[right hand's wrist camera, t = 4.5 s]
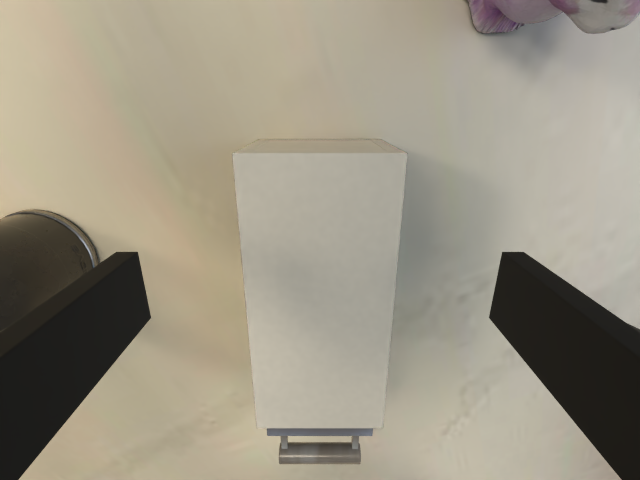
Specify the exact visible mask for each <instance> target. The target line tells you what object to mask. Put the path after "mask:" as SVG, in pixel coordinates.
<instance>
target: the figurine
mask: <svg viewBox="0 0 640 480" xmlns="http://www.w3.org/2000/svg"><path fill="white" fill-rule="evenodd" d="M467 1H468V2H469V7H470V10H471V15H472V20H473V24H474V26H475V28H476V30H477V31H479V32H482V33H491V32H493V33H494V32H496V33H498V32H500V33H501V32H509V31H513V30H514V29H518V28H519V27H520V26H523V25H524V24H528V23H538V22H543V21H546V20H549V19H551V18H553V17H555V16H557V15H559V14H560V13H562V12H564V13H565V14H566V15H567V16H568V17H569V18H570V19H571V20H572V21H573V22H574V23H575V25H576V26H577V27H578V28H579V29H581V30H582V31H583V32H585V33H591V34H596V33H605V32H608V31H611V30H615V29H620V28H622V27H625V26H627V25H628V24H630V23H631V22H632V21H633V20H634V19H635V18H636V17H637V16H638V15H639V13H640V0H467Z"/></svg>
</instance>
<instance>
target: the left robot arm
mask: <svg viewBox="0 0 640 480" xmlns="http://www.w3.org/2000/svg"><path fill="white" fill-rule="evenodd" d="M98 264H99V262H98V258H97V254H96V252H95V249H94V247H93V245H92V244H91V242H90V240H89V239H88V238H87V236H86V235H85V234H84V233H83V232H82V231H81V230H80V229H79V228H78V227H77V226H75V225H74V224H73V223H71V222H70V221H68V220H67V219H65V218H63V217H61V216H59V215H56V214H54V213H51V212H47V211H42V210H23V211H19V212H16V213H13V214H10V215H8V216H6V217H4V218H2V219H0V331H1V330H3V329H5V328H7V327H9V326H10V325H12V324H13V323H15V322H16V321H17V320H19V319H20V318H22V317H23V316H25V315H26V314H28V313H29V312H30V311H32V310H33V309H35V308H36V307H38V306H39V305H41V304H42V303H43V302H45V301H46V300H48V299H49V298H51V297H52V296H54V295H55V294H56V293H58V292H59V291H61V290H62V289H64V288H65V287H67V286H68V285H69V284H71V283H72V282H74V281H75V280H77V279H78V278H80V277H81V276H83V275H84V274H85V273H87V272H88V271H90V270H91V269H93V268H94V267H96V266H97V265H98Z"/></svg>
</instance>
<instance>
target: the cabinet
mask: <svg viewBox="0 0 640 480" xmlns="http://www.w3.org/2000/svg"><path fill="white" fill-rule="evenodd" d="M232 159H233V170H234V181H235V192H236V203H237V214H238V225H239V236H240V248H241V259H242V270H243V281H244V292H245V303H246V314H247V326H248V337H249V348H250V359H251V370H252V381H253V392H254V404H255V415H256V426H257V428H383V422H384V410H385V399H386V388H387V377H388V366H389V355H390V343H391V332H392V321H393V310H394V299H395V287H396V276H397V265H398V254H399V243H400V231H401V220H402V209H403V198H404V187H405V176H406V164H407V153H406V152H404V151H402V150H400V149H398V148H396V147H394V146H392V145H390V144H388V143H386V142H385V141H383V140H381V139H259V140H257V141H255V142H253V143H251V144H249V145H247V146H245V147H244V148H242V149H240V150H238V151H235V152H233V153H232Z"/></svg>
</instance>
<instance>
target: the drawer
mask: <svg viewBox="0 0 640 480" xmlns="http://www.w3.org/2000/svg"><path fill="white" fill-rule="evenodd" d="M372 433H373V428H267V436H281V443H280V448H279V464H360V462H361V453H360V444H359V436H372ZM288 436H352V442H288Z"/></svg>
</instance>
